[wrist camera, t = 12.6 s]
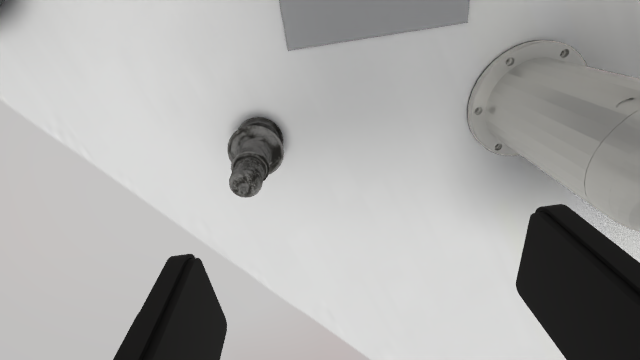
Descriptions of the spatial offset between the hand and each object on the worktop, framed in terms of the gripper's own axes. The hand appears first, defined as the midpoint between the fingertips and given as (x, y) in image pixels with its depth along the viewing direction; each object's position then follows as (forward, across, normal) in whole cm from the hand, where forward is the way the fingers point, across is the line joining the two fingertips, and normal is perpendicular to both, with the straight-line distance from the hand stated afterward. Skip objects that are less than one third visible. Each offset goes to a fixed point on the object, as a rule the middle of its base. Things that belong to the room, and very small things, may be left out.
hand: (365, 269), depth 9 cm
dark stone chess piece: (+28, +8, +6) cm, 30 cm away
